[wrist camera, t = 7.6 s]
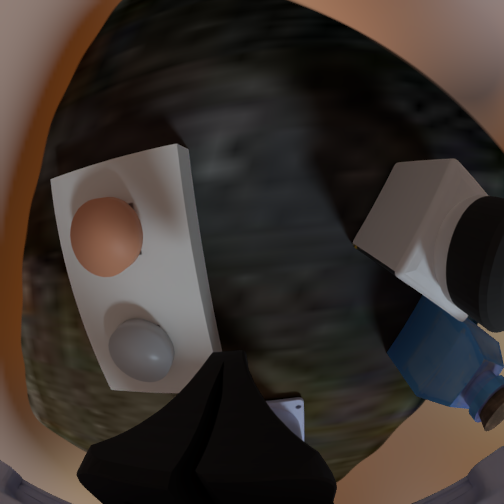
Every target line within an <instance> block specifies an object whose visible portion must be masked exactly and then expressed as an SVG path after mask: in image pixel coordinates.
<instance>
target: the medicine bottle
mask: <svg viewBox="0 0 504 504" xmlns="http://www.w3.org/2000/svg"><path fill="white" fill-rule="evenodd" d="M353 246H354V247H355V248H356V249H357V250H359V251H360V252H362V253H363V254H365V255H366V256H368V257H369V258H371V259H372V260H373V261H375V262H376V263H378V264H379V265H381V266H382V267H383V268H385V269H386V270H388V271H389V272H390V273H392V274H393V275H395V276H396V277H397V278H399V279H400V280H402V281H403V282H405V283H406V284H408V285H409V286H411V287H412V288H414V289H415V290H416V291H418V292H419V293H421V294H422V295H424V296H425V297H426V298H428V299H429V300H431V301H432V302H433V303H435V304H436V305H438V306H439V307H440V308H442V309H443V310H445V311H446V312H447V313H449V314H450V315H451V316H453V317H454V318H455V319H457V320H458V321H461V322H463V321H465V320H466V318H467V317H468V315H469V316H470V317H471V318H473V319H474V320H475V321H477V322H478V323H479V324H481V325H482V326H483V327H485V328H486V329H487V330H489V331H491V332H501V331H504V198H499V197H493V196H488V195H487V194H486V192H485V191H484V190H483V189H482V188H481V186H480V185H479V184H478V183H477V182H476V180H475V179H474V178H473V177H472V176H471V175H470V174H469V172H468V171H467V170H466V169H465V168H464V167H463V166H462V165H461V164H460V163H459V161H457V160H456V159H436V160H421V161H408V162H398V163H396V164H395V165H394V167H393V169H392V171H391V173H390V175H389V177H388V179H387V181H386V183H385V185H384V186H383V188H382V190H381V192H380V194H379V196H378V198H377V199H376V201H375V203H374V205H373V207H372V209H371V210H370V212H369V214H368V216H367V218H366V219H365V221H364V223H363V225H362V226H361V228H360V230H359V232H358V233H357V235H356V237H355V238H354V240H353Z"/></svg>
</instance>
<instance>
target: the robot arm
mask: <svg viewBox="0 0 504 504" xmlns="http://www.w3.org/2000/svg"><path fill="white" fill-rule="evenodd" d="M297 405H299V406H297ZM77 477H78V479H79V481H80V483H81V484H82V485H83V486H84V487H85V488H86V489H87V490H88V491H89V492H90V493H92V494H93V495H94V496H95V497H96V498H97V499H98V500H99V501H100V502H101V503H103V504H334V503H333V501H334V497H335V493H336V490H337V485H336V481H335V479H334V476H333V474H332V472H331V470H330V469H329V467H328V465H327V464H326V462H325V461H324V459H323V458H322V456H321V455H320V453H319V452H318V451H316V450H315V449H313V448H312V447H310V446H309V445H308V444H306V443H305V442H304V401H303V398H301V397H295V398H288V399H279V400H271V401H265V400H264V398H263V397H262V395H261V393H260V392H259V390H258V388H257V386H256V385H255V383H254V381H253V378H252V376H251V374H250V371H249V368H248V362H247V356H246V352H245V351H243V350H236V351H224V352H213V353H212V354H211V355H210V356H209V357H208V359H207V360H206V361H205V363H204V364H203V365H202V367H201V368H200V369H199V371H198V372H197V373H196V374H195V376H194V377H193V378H192V379H191V380H190V382H189V383H188V384H187V385H186V386H185V387H184V388H183V389H182V390H181V391H180V392H179V393H178V394H177V395H176V397H174V398H173V399H172V400H171V401H170V402H169V403H168V404H167V405H165V406H164V407H163V408H162V409H161V410H159V411H158V412H157V413H155V414H154V415H152V416H151V417H149V418H148V419H146V420H145V421H143V422H142V423H140V424H139V425H137V426H135V427H133V428H131V429H130V430H128V431H126V432H124V433H122V434H119V435H117V436H115V437H113V438H110V439H107V440H105V441H102V442H99V443H97V444H93V445H91V446H90V448H89V450H88V452H87V453H86V455H85V457H84V459H83V461H82V463H81V465H80V468H79V469H78V471H77ZM0 504H71V503H69V502H67V501H65V500H62V499H60V498H58V497H56V496H53V495H52V494H50V493H47V492H45V491H44V490H42V489H40V488H37V487H36V486H34V485H32V484H30V483H28V482H27V481H25V480H23V479H22V477H21V476H20V475H19V474H18V473H17V472H16V471H14V469H12V468H11V467H10V466H8V465H7V464H5V463H4V462H2V461H1V460H0ZM412 504H504V446H502V447H501V448H499V449H497V450H496V451H494V452H493V453H492V454H490V455H489V456H487V457H486V458H484V459H483V460H481V461H480V462H479V463H478V464H476V465H475V466H474V467H473V468H472V469H471V471H470V472H469V473H468V475H467V476H466V477H464V478H463V479H461V480H459V481H457V482H456V483H454V484H452V485H450V486H448V487H447V488H445V489H442V490H441V491H439V492H437V493H434V494H432V495H430V496H428V497H426V498H424V499H422V500H419V501H417V502H415V503H412Z"/></svg>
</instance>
